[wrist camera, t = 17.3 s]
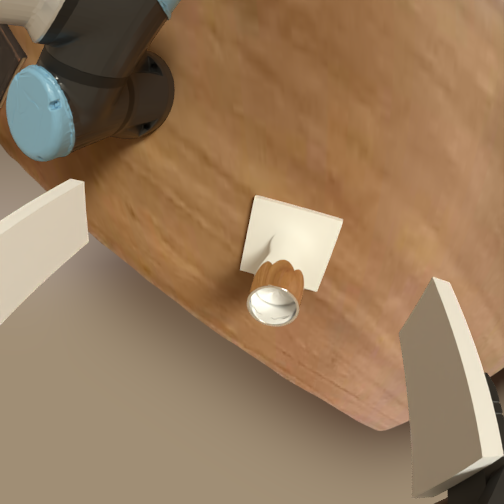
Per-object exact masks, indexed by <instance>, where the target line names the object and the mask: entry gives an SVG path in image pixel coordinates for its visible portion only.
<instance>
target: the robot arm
mask: <svg viewBox="0 0 504 504" xmlns="http://www.w3.org/2000/svg"><path fill="white" fill-rule="evenodd" d="M180 1H181V0H0V24H9V25H17V26H24V27H25V28H26V29H27V31H28V33H29V35H30V37H31V39H32V41H33V42H34V43H39V44H45V45H44V48H43V50H42V52H41V55H40V57H39V59H38V62H37V64H36V65H29V66H27V67H26V68H24V69H22V70H21V71H20V72H19V73H17V74H16V75H15V77H14V78H13V80H12V82H11V84H10V86H9V90H8V93H7V100H6V113H7V120H8V124H9V127H10V131H11V134H12V136H13V139H14V141H15V142H16V144H17V146H18V147H19V148H20V149H21V151H22V152H23V153H24V154H25V155H27V156H28V157H30V158H31V159H33V160H36V161H49V160H52V159H55V158H58V157H65V156H67V155H68V154H69V153H71V152H74V151H76V150H78V149H80V148H83V147H85V146H87V145H90V144H92V143H95V142H97V141H99V140H102V139H104V138H107V137H116V138H122V139H133V138H138V137H141V136H144V135H146V134H149V133H151V132H153V131H154V130H156V129H157V128H158V127H159V126H160V125H161V124H162V123H163V122H164V121H165V119H166V118H167V116H168V114H169V112H170V110H171V107H172V104H173V100H174V81H173V77H172V74H171V71H170V69H169V67H168V66H167V64H166V63H165V62H164V61H163V60H162V59H161V58H160V57H159V56H158V55H156V54H154V53H152V52H150V51H146V49H147V48H148V46H149V45H150V43H151V42H152V40H153V39H154V37H155V36H156V35H157V33H158V32H159V30H160V29H161V27H162V26H163V25H164V23H165V22H166V21H167V20H169V19H170V18H171V13H172V12H173V10H174V9H175V8H176V6H177V5H178V3H179V2H180ZM88 242H89V238H88V228H87V217H86V204H85V186H84V182H83V181H79V180H75V179H69V180H67V181H65V182H64V183H62V184H60V185H58V186H56V187H55V188H53V189H51V190H49V191H48V192H46V193H44V194H42V195H41V196H39V197H37V198H36V199H34V200H32V201H31V202H29V203H27V204H26V205H24V206H23V207H21V208H19V209H18V210H16V211H15V212H13V213H12V214H10V215H8V216H7V217H5V218H4V219H2V220H1V221H0V324H2V323H3V322H4V320H5V319H6V318H7V317H8V316H9V315H10V314H11V313H12V312H13V311H14V310H15V309H16V308H17V307H18V306H19V305H20V304H21V303H22V302H23V301H24V300H25V299H26V298H27V297H28V296H29V295H30V294H31V293H32V292H33V291H35V290H36V289H37V287H39V286H40V285H41V284H42V283H43V282H44V281H45V280H46V279H47V278H48V277H49V276H51V275H52V274H53V273H54V272H55V271H56V270H57V269H58V268H59V267H61V266H62V265H63V264H64V263H65V262H66V261H67V260H68V259H70V258H71V257H72V256H73V255H74V254H75V253H76V252H78V251H79V250H80V249H81V248H82V247H83V246H85V245H86V244H87V243H88ZM399 337H400V343H401V350H402V357H403V364H404V371H405V379H406V387H407V397H408V407H409V418H410V431H411V432H410V433H411V450H412V498H425V497H434V496H436V495H438V494H440V493H442V492H444V491H446V490H448V497H447V498H446V499H443V500H441V501H439V502H437V503H435V504H504V416H503V415H502V409H501V405H500V404H499V397H498V394H497V391H496V387H495V386H494V383H493V382H492V380H491V378H490V377H489V375H488V374H487V373H484V371H483V368H482V365H481V362H480V359H479V356H478V353H477V350H476V347H475V344H474V341H473V339H472V336H471V333H470V331H469V328H468V325H467V323H466V320H465V318H464V315H463V313H462V310H461V308H460V305H459V303H458V301H457V298H456V296H455V294H454V291H453V289H452V287H451V285H450V282H447V281H444V280H441V279H438V278H435V277H432V279H431V280H430V282H429V284H428V286H427V288H426V289H425V291H424V293H423V295H422V296H421V298H420V300H419V301H418V303H417V305H416V306H415V308H414V310H413V311H412V313H411V314H410V316H409V318H408V319H407V321H406V322H405V324H404V326H403V327H402V329H401V330H400V332H399Z"/></svg>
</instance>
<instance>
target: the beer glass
mask: <svg viewBox="0 0 504 504" xmlns="http://www.w3.org/2000/svg"><path fill="white" fill-rule="evenodd" d="M306 252H307V246H306V243H305V241H304V239H303V238H302V237H301V236H300V235H298V234H297V233H294V232H291V231H283V232H280V233H277V234H276V235H275V236H274V237H273V238H272V239H271V241H270V244H269V254H268V256H267V257H266V258H265V259H264V261H263V262H262V263H261V265H260V266H259V268H258V270H257V271H256V273H255V276H254V278H253V281H252V284H251V288H250V292H249V296H248V299H247V308H248V311H249V312H250V314H251V315H252V316H253V317H254V318H255V319H256V320H257V321H259V322H261V323H263V324H265V325H269V326H284V325H287V324H289V323H291V322H292V321H294V320H295V319H296V317H297V315H298V313H299V308H300V305H301V301H302V298H303V293H304V271H303V265H302V261H303V259H304V257H305V255H306Z"/></svg>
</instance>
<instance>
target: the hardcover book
mask: <svg viewBox="0 0 504 504" xmlns="http://www.w3.org/2000/svg"><path fill="white" fill-rule="evenodd" d="M26 58H27V56H26V54H25V53H24V51H23V50H22V48H21V46H20V45H19V43H18V42H17V40H16V38H15V37H14V35H13V34H12V32H11V30H10V29H9V27H8V25H7V24H0V108H2V106H3V103H4V101H5V99H6V97H7V93H8V90H9V86H10V84H11V82H12V80H13V78H14V77H15V75H16V74H17V73H18V72H19V70H20V68H21V67H22V65H23V63H24V61H25V59H26Z"/></svg>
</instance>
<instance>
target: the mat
mask: <svg viewBox="0 0 504 504" xmlns="http://www.w3.org/2000/svg"><path fill="white" fill-rule="evenodd" d="M342 223H343V219H341V218H337V217H334V216H331V215H327V214H324V213H320V212H317V211H313V210H310V209H306V208H303V207H299V206H296V205H292V204H288V203H285V202H281V201H277V200H274V199H270V198H266V197H262V196H258V195H255V197H254V202H253V207H252V212H251V217H250V222H249V227H248V231H247V236H246V241H245V246H244V251H243V256H242V261H241V266H240V270H241V271H245V272H248V273H252V274H255V273H256V271H257V270H258V268H259V266H260V265H261V263H262V262H263V261H264V259H265V258H266V257H267V256H268V254H269V244H270V241H271V239H272V238H273V237H274V236H275V235H276V234H277V233H280V232H283V231H291V232H294V233H297V234H298V235H300V236H301V237H302V238H303V239H304V241H305V243H306V246H307V252H306V255H305V257H304V259H303V261H302V265H303V271H304V288H305V289H308V290H312V291H316V292H317V290H318V288H319V285H320V283H321V280H322V277H323V275H324V272H325V270H326V267H327V264H328V262H329V259H330V256H331V254H332V251H333V248H334V245H335V243H336V240H337V237H338V234H339V232H340V229H341V226H342Z"/></svg>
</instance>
